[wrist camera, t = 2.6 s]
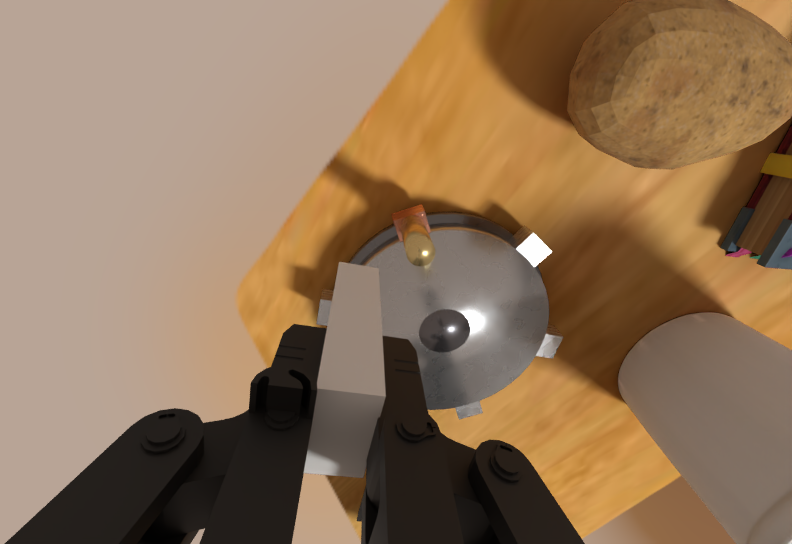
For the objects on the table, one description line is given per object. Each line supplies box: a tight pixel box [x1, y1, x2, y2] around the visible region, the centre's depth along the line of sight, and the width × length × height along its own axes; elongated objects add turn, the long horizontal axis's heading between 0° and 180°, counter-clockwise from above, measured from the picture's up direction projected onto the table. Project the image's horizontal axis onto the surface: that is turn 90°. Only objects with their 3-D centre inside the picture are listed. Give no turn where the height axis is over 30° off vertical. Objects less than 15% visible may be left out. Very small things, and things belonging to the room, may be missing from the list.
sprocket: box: [317, 204, 563, 419], centre depth 30 cm, size 21×20×7 cm
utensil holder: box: [618, 312, 792, 544], centre depth 31 cm, size 15×15×18 cm
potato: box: [567, 0, 792, 169], centre depth 23 cm, size 10×14×8 cm
